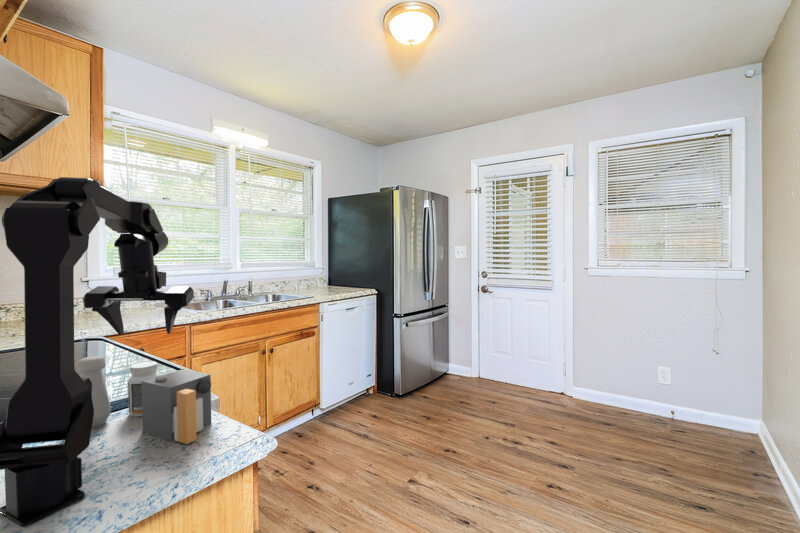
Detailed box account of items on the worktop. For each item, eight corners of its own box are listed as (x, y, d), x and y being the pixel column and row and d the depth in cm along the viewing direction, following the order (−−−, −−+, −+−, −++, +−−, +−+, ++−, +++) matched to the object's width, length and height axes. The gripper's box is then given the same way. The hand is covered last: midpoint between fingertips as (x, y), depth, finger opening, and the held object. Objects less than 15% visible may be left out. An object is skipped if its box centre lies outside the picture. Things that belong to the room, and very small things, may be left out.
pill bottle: (168, 408, 81) (167, 361, 81) (143, 419, 76) (142, 369, 75) (147, 405, 83) (146, 359, 82) (121, 416, 77) (120, 367, 77)
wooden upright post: (186, 444, 65) (185, 394, 65) (174, 440, 66) (173, 391, 66) (212, 431, 69) (211, 384, 69) (200, 428, 71) (199, 382, 71)
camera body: (174, 442, 66) (172, 384, 66) (142, 432, 70) (141, 378, 70) (213, 423, 74) (212, 371, 73) (183, 415, 77) (182, 366, 77)
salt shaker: (77, 434, 69) (75, 363, 69) (68, 426, 73) (66, 358, 72) (116, 423, 74) (114, 356, 73) (106, 415, 77) (104, 352, 77)
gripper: (198, 255, 88) (203, 317, 92) (105, 253, 84) (115, 319, 88) (182, 268, 77) (188, 339, 82) (75, 267, 73) (87, 341, 78)
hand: (145, 333), depth 82 cm, fingers open, 9 cm apart
